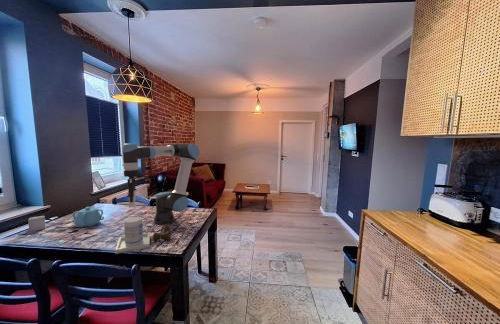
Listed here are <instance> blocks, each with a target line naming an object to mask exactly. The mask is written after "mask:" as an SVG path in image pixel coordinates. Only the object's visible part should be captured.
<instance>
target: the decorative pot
mask: <svg viewBox="0 0 500 324" xmlns="http://www.w3.org/2000/svg"><path fill="white" fill-rule="evenodd" d="M76 214H77V215H76ZM103 214H104V211H103V209H101V208H97V207H94V206H93V207H91V206H86V207H85V208H82V209H80V210H76V211H73V212H72V218H73V219H72V223H73V224H75V226H76V227H79V228H83V227H94V226H95V225H97V224H98V223H100V221H103V220H104V219H105V217H104V216H103Z"/></svg>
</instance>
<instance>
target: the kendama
mask: <svg viewBox="0 0 500 324" xmlns="http://www.w3.org/2000/svg"><path fill="white" fill-rule="evenodd" d="M170 229H171V228H170V226H169V225H168V224H163V226H162V227H161V230H160V233H159V232H153V235H152V240H153V242H157V241H159V242H160V241H161V240H166V241H170V240H171V232H170V231H171V230H170Z"/></svg>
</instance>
